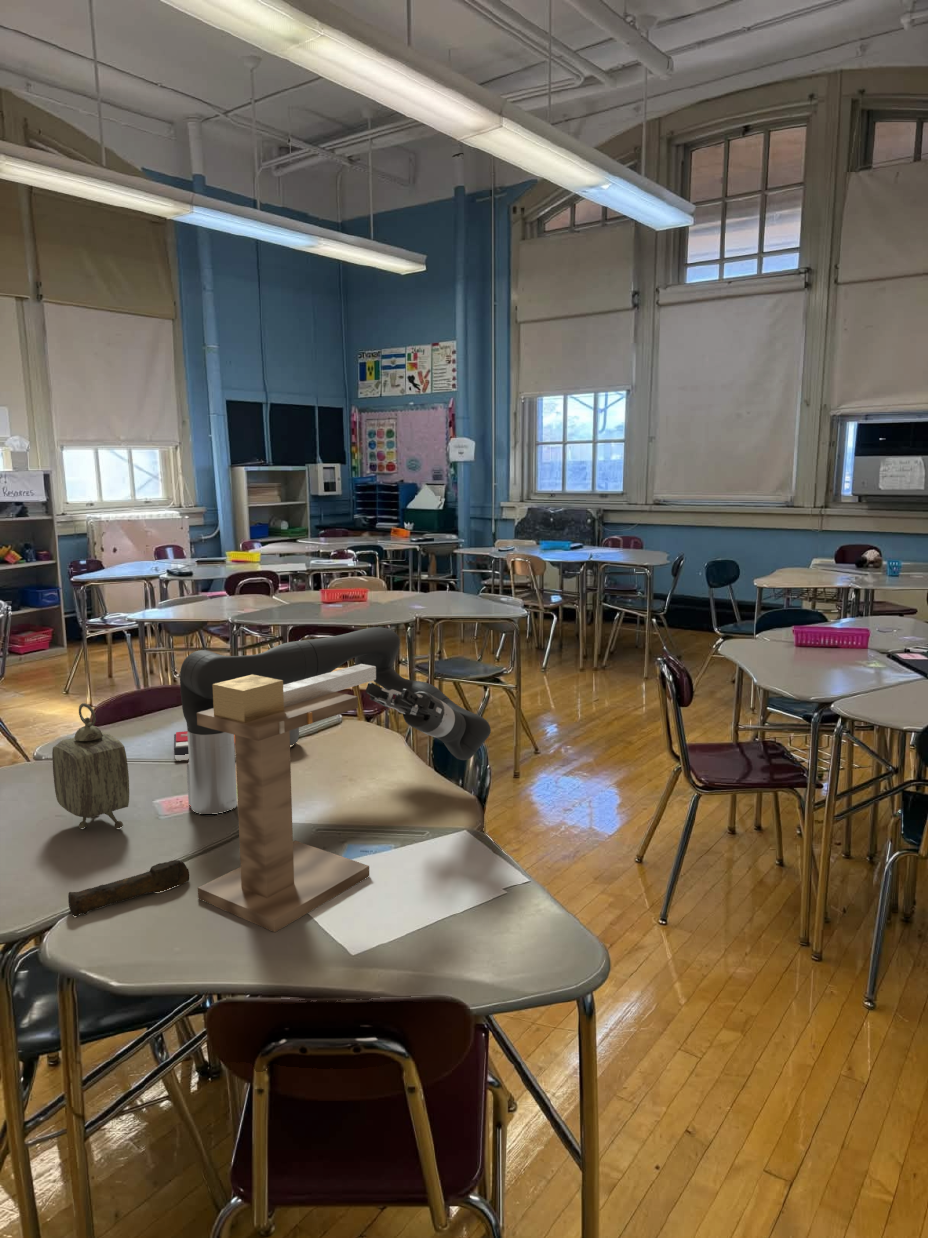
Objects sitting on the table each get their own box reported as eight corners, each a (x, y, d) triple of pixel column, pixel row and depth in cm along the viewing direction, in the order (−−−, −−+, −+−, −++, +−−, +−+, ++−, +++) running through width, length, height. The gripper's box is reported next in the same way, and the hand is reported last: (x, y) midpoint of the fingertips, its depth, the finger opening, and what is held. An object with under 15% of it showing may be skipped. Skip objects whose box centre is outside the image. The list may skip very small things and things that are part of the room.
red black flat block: (217, 727, 220) (220, 741, 206) (218, 743, 221) (221, 757, 207) (173, 731, 217) (173, 745, 203) (174, 747, 217) (174, 762, 203)
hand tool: (72, 923, 130) (70, 895, 129) (67, 912, 133) (65, 885, 132) (194, 889, 141) (193, 864, 140) (186, 880, 144) (185, 855, 143)
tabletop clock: (132, 829, 164) (124, 706, 160) (85, 844, 157) (76, 716, 153) (100, 809, 173) (91, 693, 169) (55, 822, 167) (45, 701, 163)
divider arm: (213, 715, 129) (212, 684, 128) (354, 675, 155) (354, 649, 155) (244, 723, 125) (243, 690, 124) (383, 681, 151) (383, 654, 151)
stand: (198, 899, 137) (188, 710, 132) (295, 850, 155) (290, 683, 149) (274, 932, 127) (267, 730, 122) (369, 876, 145) (366, 698, 139)
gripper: (407, 692, 176) (363, 667, 163) (463, 703, 168) (421, 677, 155) (396, 726, 174) (350, 703, 161) (452, 738, 166) (408, 715, 153)
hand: (385, 690), depth 158 cm, fingers open, 8 cm apart
